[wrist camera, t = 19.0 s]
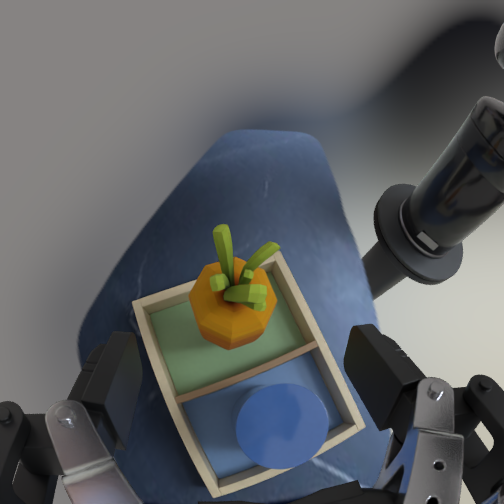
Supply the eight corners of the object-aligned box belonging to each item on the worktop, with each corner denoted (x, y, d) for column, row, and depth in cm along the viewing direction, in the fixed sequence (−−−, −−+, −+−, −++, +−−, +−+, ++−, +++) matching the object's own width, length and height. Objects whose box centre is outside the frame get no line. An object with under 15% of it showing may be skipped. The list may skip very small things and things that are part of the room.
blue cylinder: (283, 374, 23) (306, 368, 17) (310, 431, 21) (342, 442, 15) (219, 400, 22) (220, 405, 16) (248, 459, 20) (259, 483, 13)
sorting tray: (273, 264, 29) (279, 250, 26) (351, 424, 22) (366, 426, 20) (140, 311, 25) (131, 301, 23) (213, 487, 18) (213, 498, 16)
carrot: (201, 305, 26) (185, 205, 12) (255, 309, 26) (297, 215, 13) (197, 359, 23) (169, 317, 10) (254, 362, 24) (302, 325, 10)
